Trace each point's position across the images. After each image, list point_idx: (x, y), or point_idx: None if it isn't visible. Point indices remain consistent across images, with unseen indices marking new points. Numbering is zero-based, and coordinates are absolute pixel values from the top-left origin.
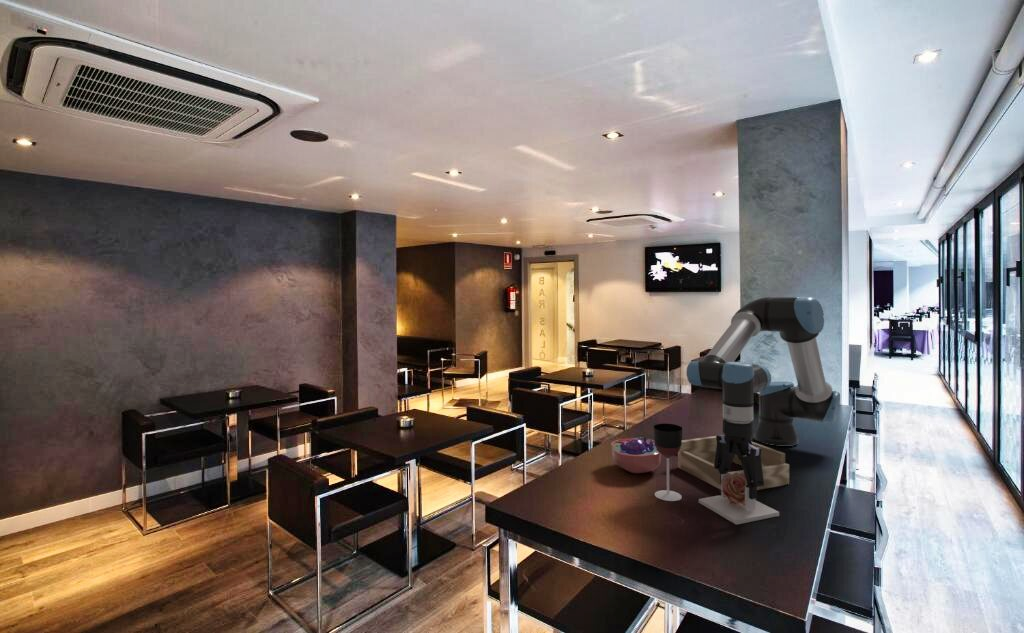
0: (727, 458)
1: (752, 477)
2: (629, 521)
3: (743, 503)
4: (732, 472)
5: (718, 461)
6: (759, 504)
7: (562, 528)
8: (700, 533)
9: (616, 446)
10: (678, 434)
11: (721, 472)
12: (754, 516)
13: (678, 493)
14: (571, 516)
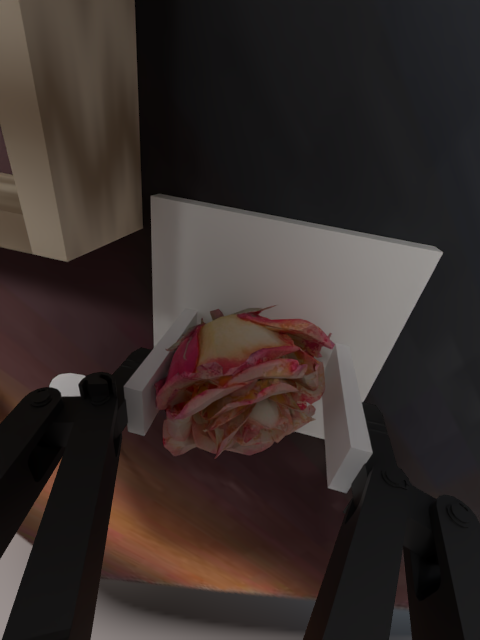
0: (94, 597)
1: (413, 605)
2: (185, 533)
3: (315, 399)
4: (32, 213)
5: (38, 490)
6: (316, 253)
7: (164, 579)
8: (306, 509)
9: None
10: None
11: (120, 437)
12: (369, 379)
13: (81, 376)
14: (131, 556)
